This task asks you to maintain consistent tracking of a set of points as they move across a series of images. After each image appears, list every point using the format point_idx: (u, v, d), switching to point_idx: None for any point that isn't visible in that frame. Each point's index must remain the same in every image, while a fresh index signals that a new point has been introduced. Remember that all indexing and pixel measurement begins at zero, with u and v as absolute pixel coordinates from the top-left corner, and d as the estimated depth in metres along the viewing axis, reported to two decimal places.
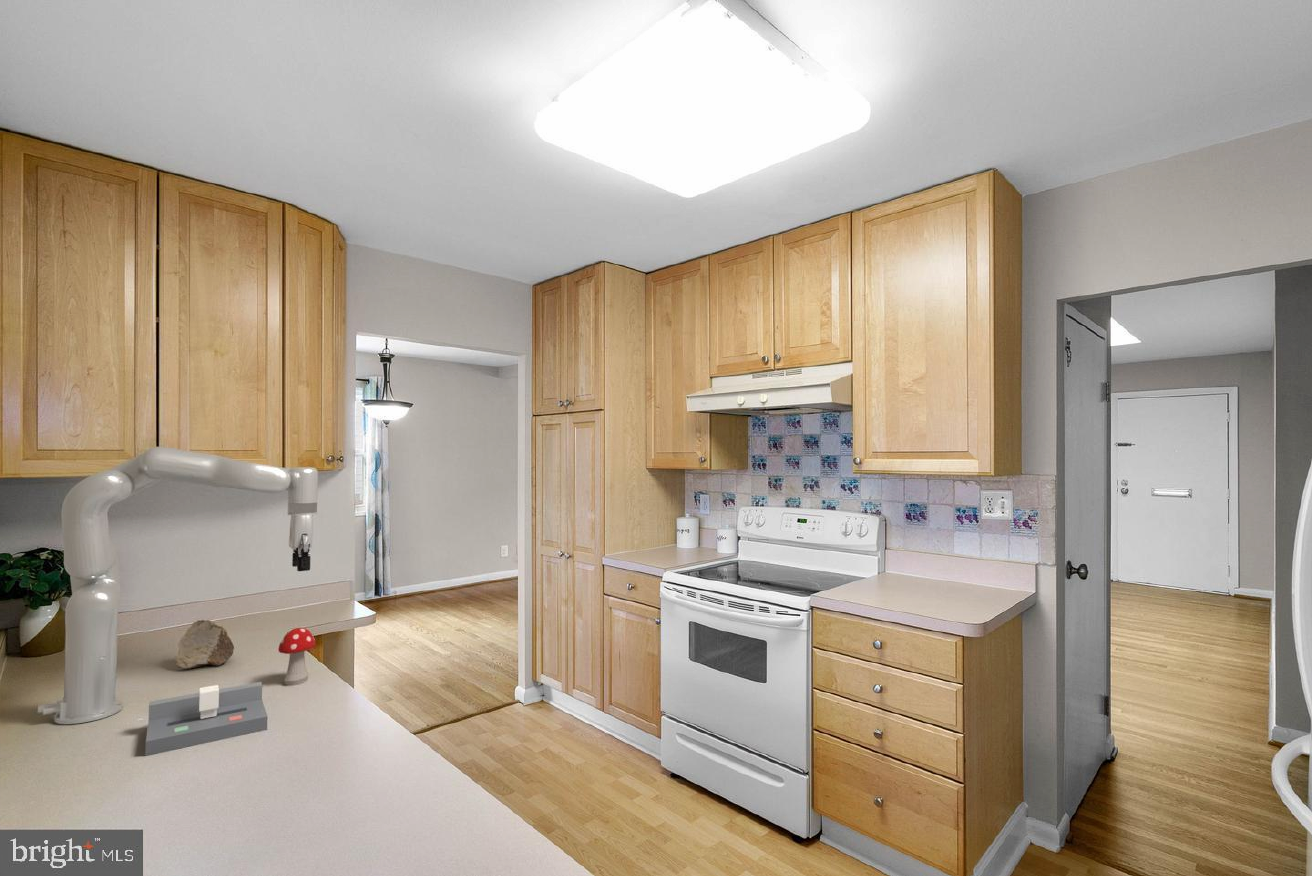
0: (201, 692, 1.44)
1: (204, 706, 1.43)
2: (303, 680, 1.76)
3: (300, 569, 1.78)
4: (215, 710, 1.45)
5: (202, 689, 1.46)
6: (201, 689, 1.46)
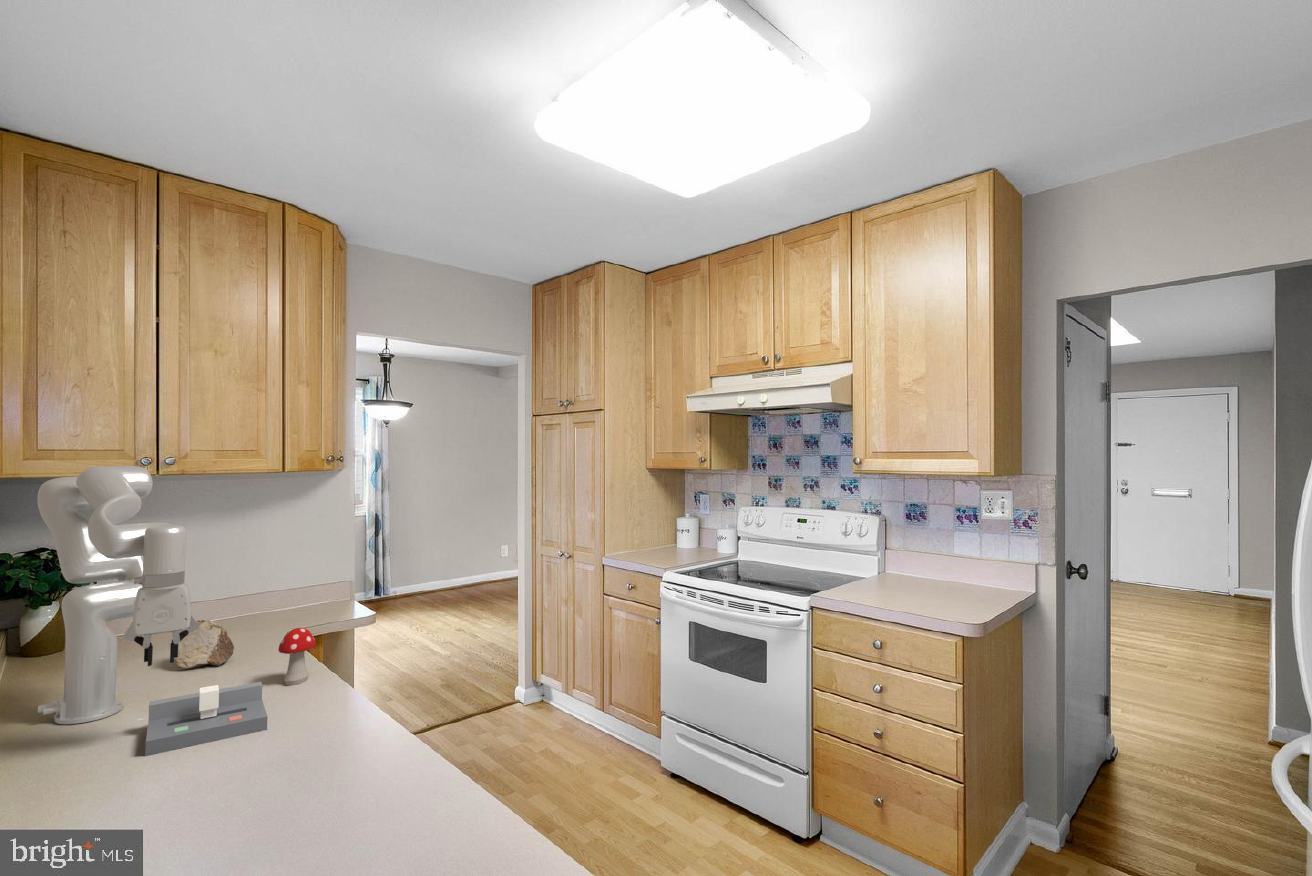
0: (201, 692, 1.44)
1: (204, 706, 1.43)
2: (303, 680, 1.76)
3: (173, 659, 1.41)
4: (215, 710, 1.45)
5: (202, 689, 1.46)
6: (201, 689, 1.46)
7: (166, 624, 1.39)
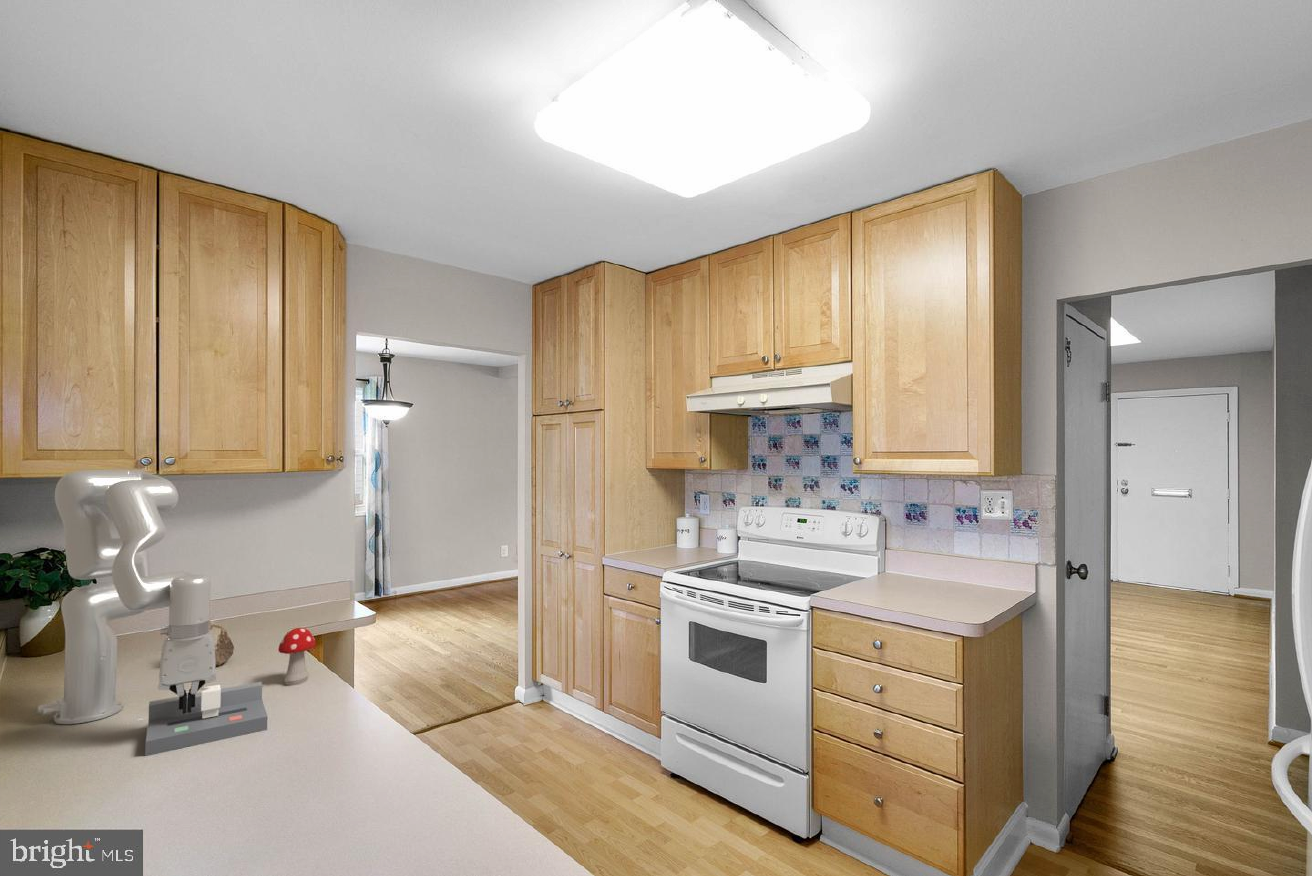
0: (203, 692, 1.44)
1: (206, 706, 1.44)
2: (303, 680, 1.76)
3: None
4: (217, 710, 1.45)
5: (204, 689, 1.46)
6: (203, 689, 1.46)
7: (192, 674, 1.42)
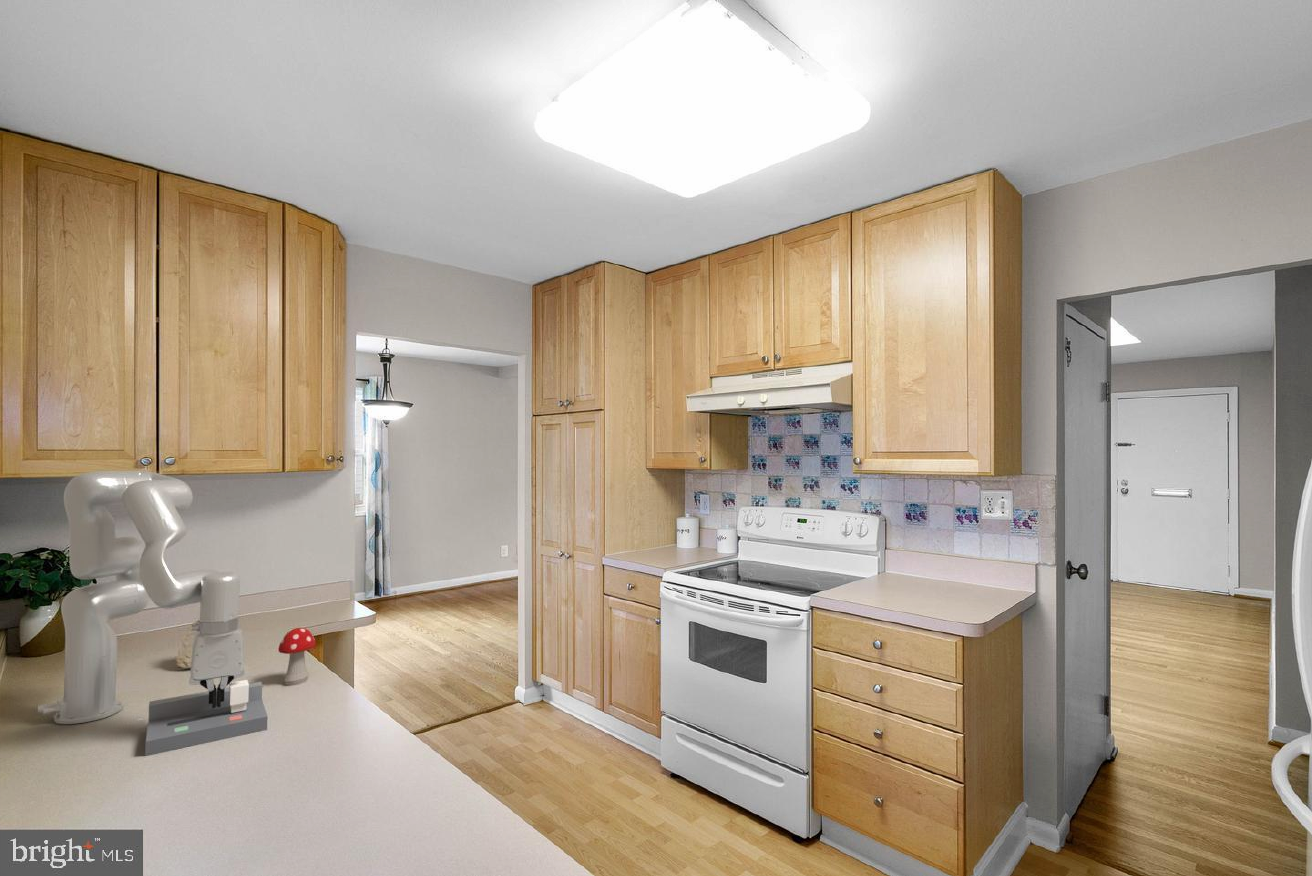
0: (232, 687, 1.47)
1: (235, 700, 1.47)
2: (303, 680, 1.76)
3: None
4: (245, 704, 1.49)
5: (232, 684, 1.49)
6: (231, 684, 1.49)
7: (222, 669, 1.45)
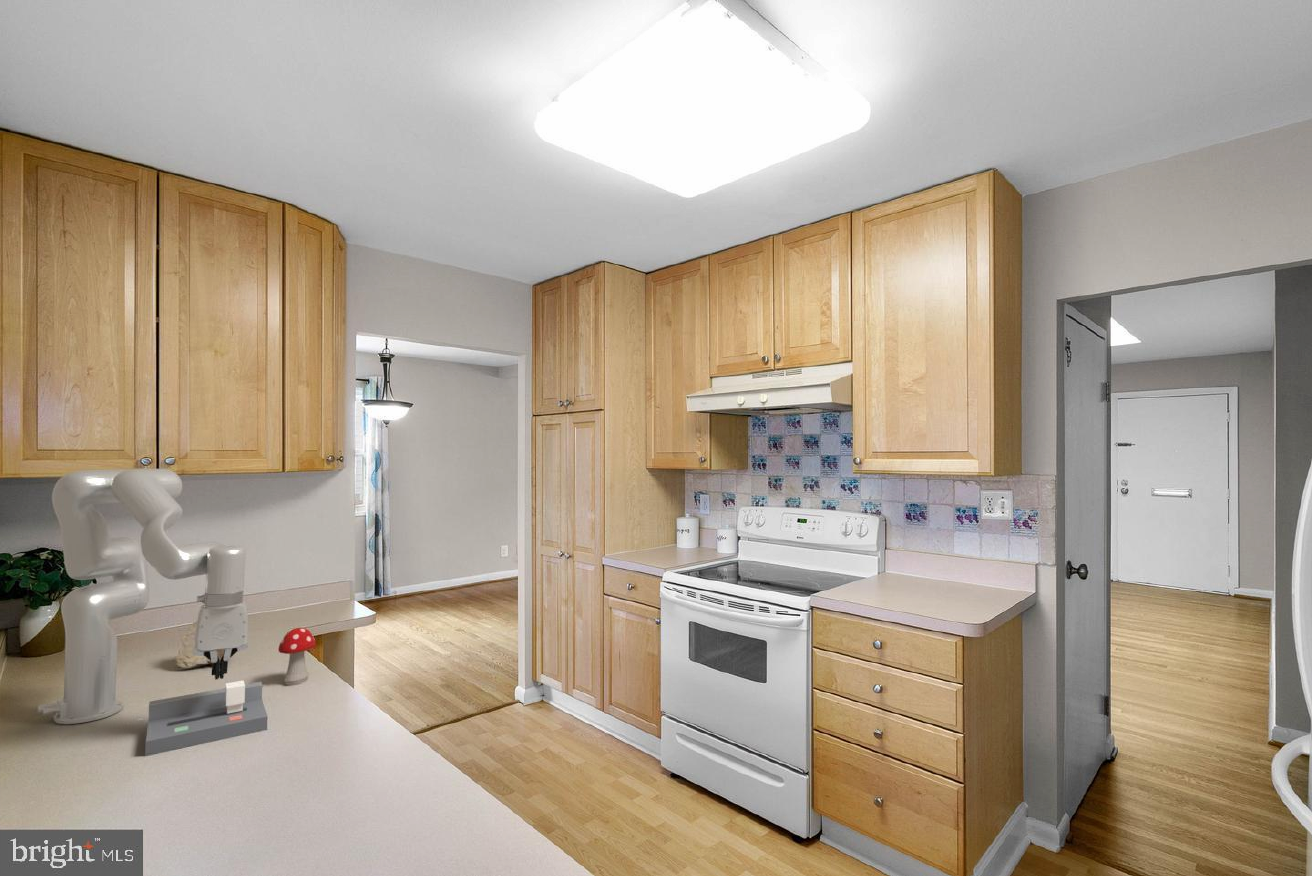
0: (228, 687, 1.47)
1: (231, 701, 1.46)
2: (303, 680, 1.76)
3: None
4: (241, 705, 1.48)
5: (228, 684, 1.49)
6: (227, 684, 1.49)
7: (226, 641, 1.46)
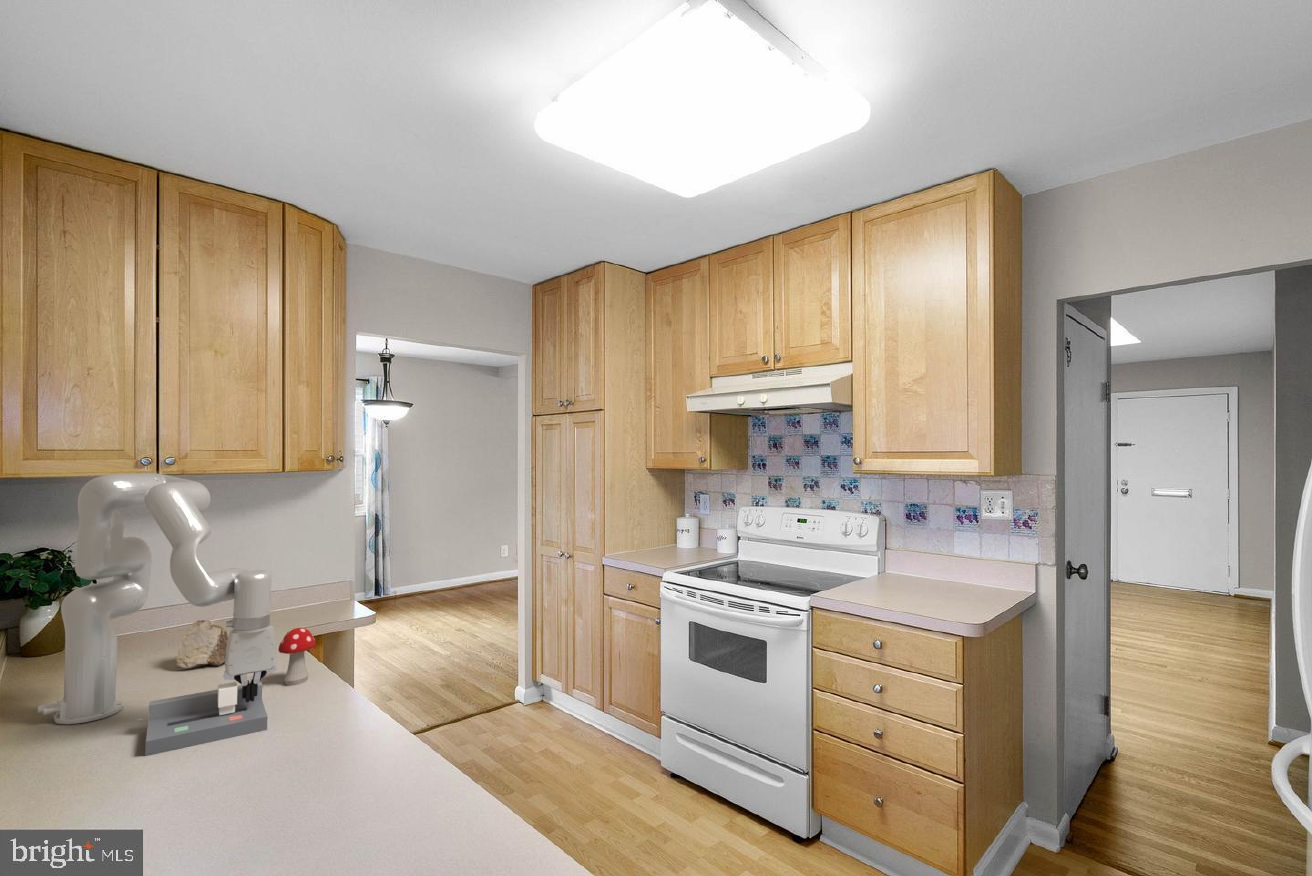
0: (220, 689, 1.46)
1: (223, 702, 1.45)
2: (303, 680, 1.76)
3: (253, 698, 1.50)
4: (233, 706, 1.47)
5: (221, 686, 1.48)
6: (220, 686, 1.48)
7: (255, 664, 1.49)
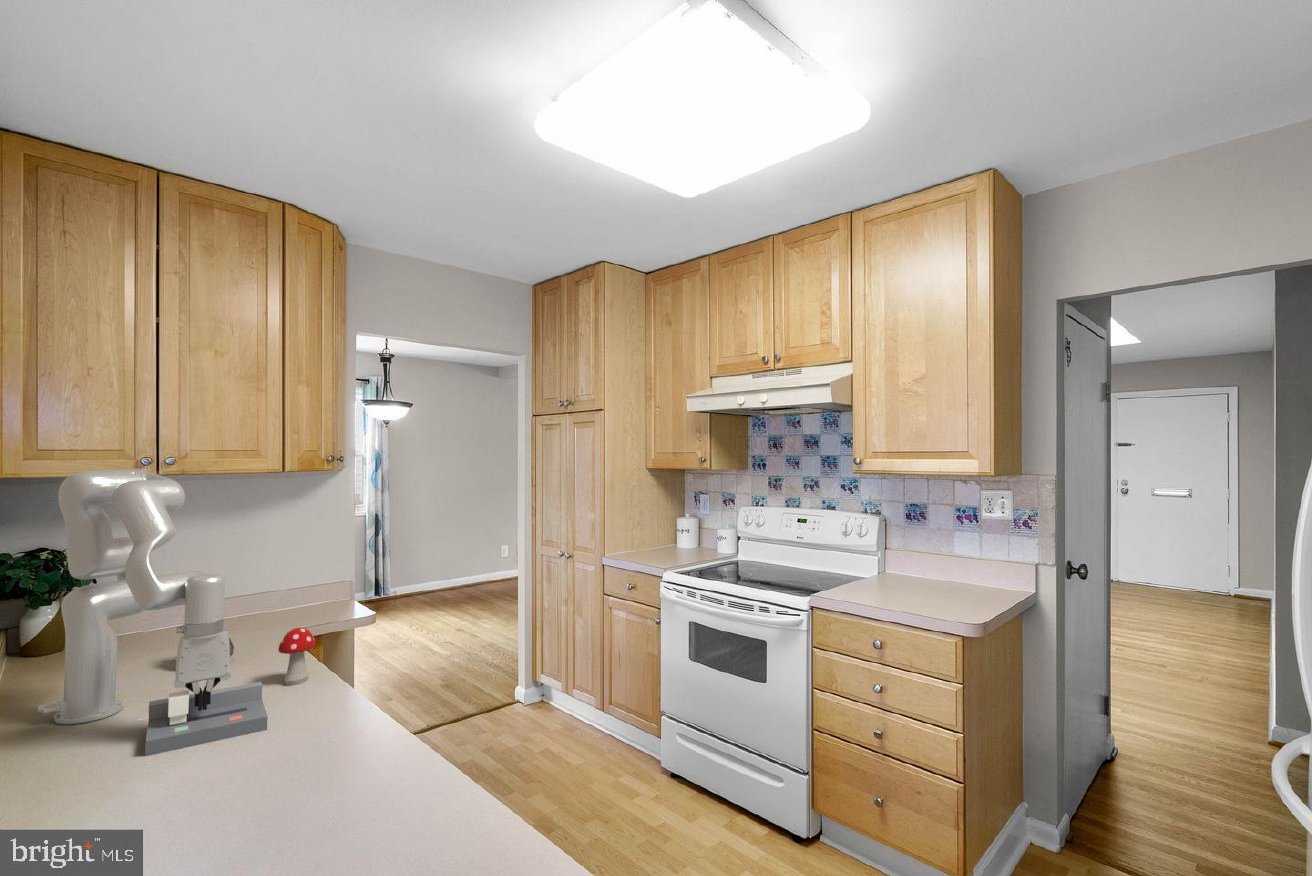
0: (170, 697, 1.40)
1: (173, 712, 1.40)
2: (303, 680, 1.76)
3: (206, 706, 1.45)
4: (185, 716, 1.42)
5: (172, 694, 1.42)
6: (171, 694, 1.42)
7: (207, 671, 1.43)
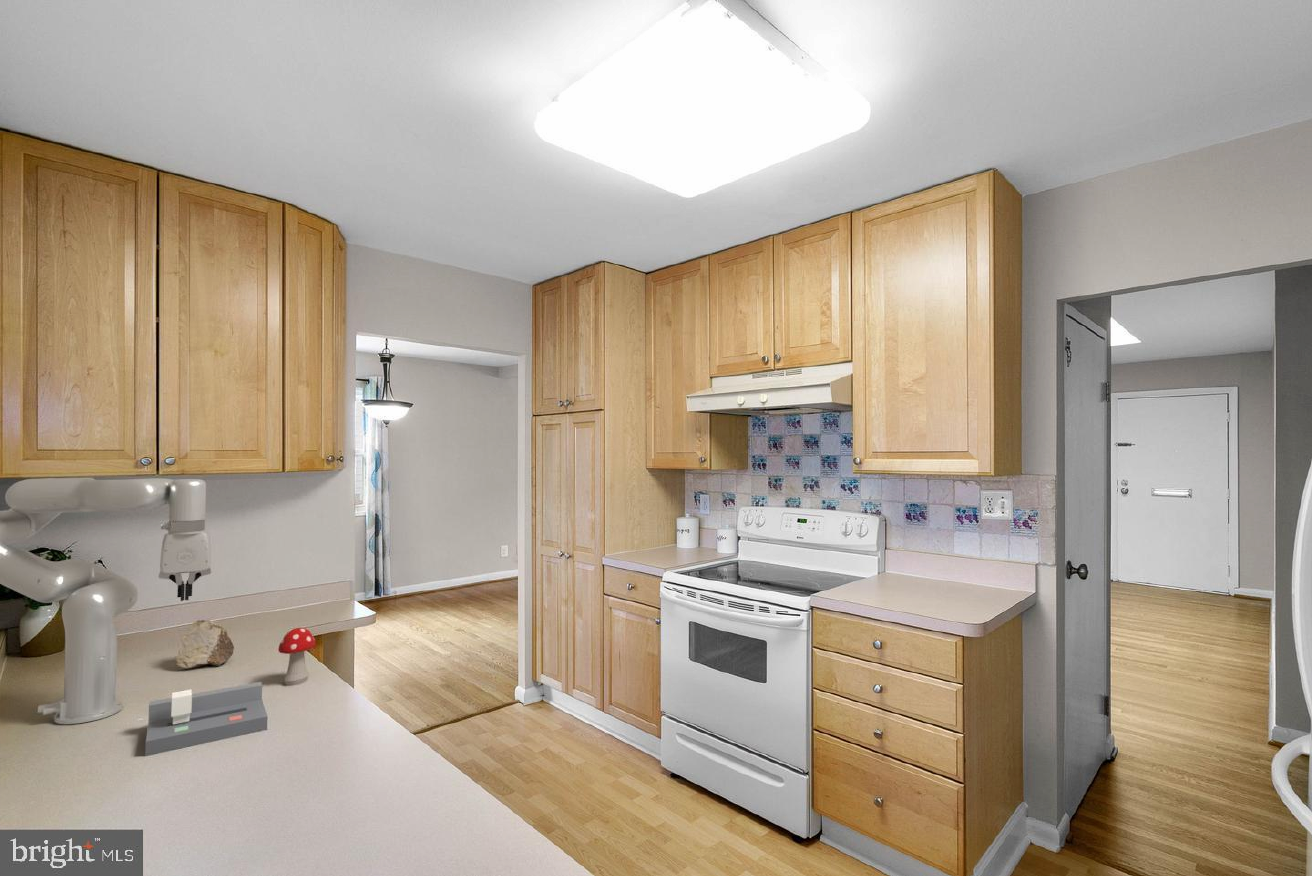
0: (173, 697, 1.41)
1: (176, 711, 1.40)
2: (303, 680, 1.76)
3: (188, 598, 1.59)
4: (188, 715, 1.42)
5: (175, 694, 1.42)
6: (174, 694, 1.42)
7: (189, 565, 1.58)
